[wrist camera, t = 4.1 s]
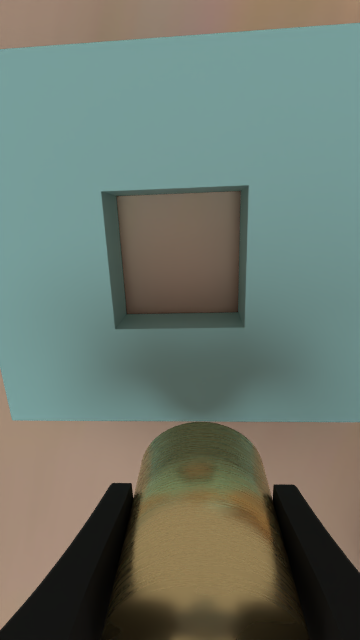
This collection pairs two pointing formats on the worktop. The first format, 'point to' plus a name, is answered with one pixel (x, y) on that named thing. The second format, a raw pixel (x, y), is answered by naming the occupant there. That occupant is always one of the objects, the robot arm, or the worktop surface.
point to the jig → (171, 178)
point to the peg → (203, 546)
